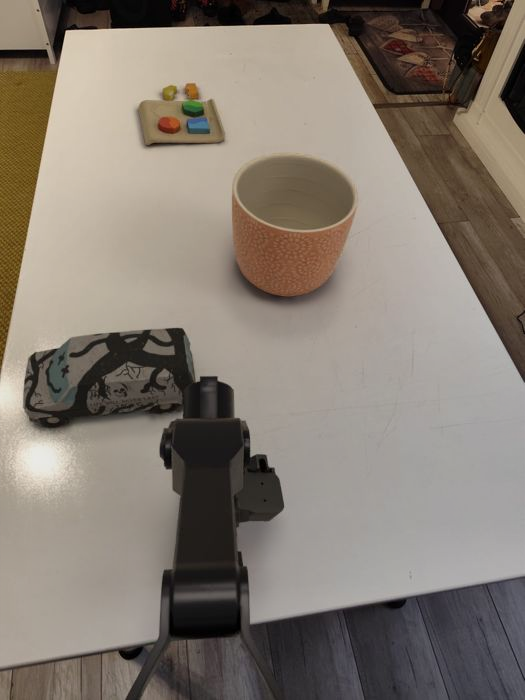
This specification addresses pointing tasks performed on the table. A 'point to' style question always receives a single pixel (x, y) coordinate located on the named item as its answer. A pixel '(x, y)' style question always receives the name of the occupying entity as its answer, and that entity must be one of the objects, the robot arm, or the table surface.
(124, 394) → the toy car
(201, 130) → the shape puzzle
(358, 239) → the table surface
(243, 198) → the planter
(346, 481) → the table surface
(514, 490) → the table surface
